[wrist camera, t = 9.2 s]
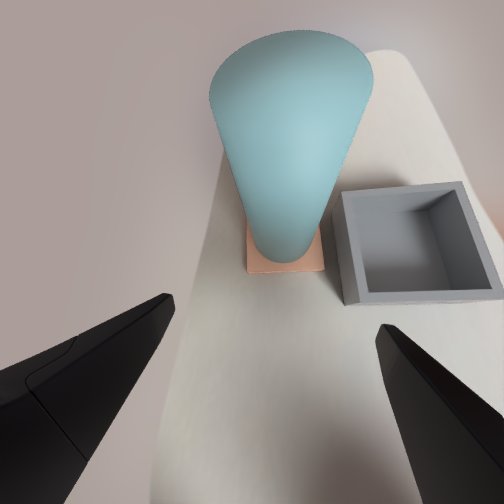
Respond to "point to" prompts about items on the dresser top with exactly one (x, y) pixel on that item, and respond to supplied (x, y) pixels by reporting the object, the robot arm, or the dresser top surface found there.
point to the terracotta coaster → (306, 263)
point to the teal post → (289, 130)
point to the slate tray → (412, 247)
